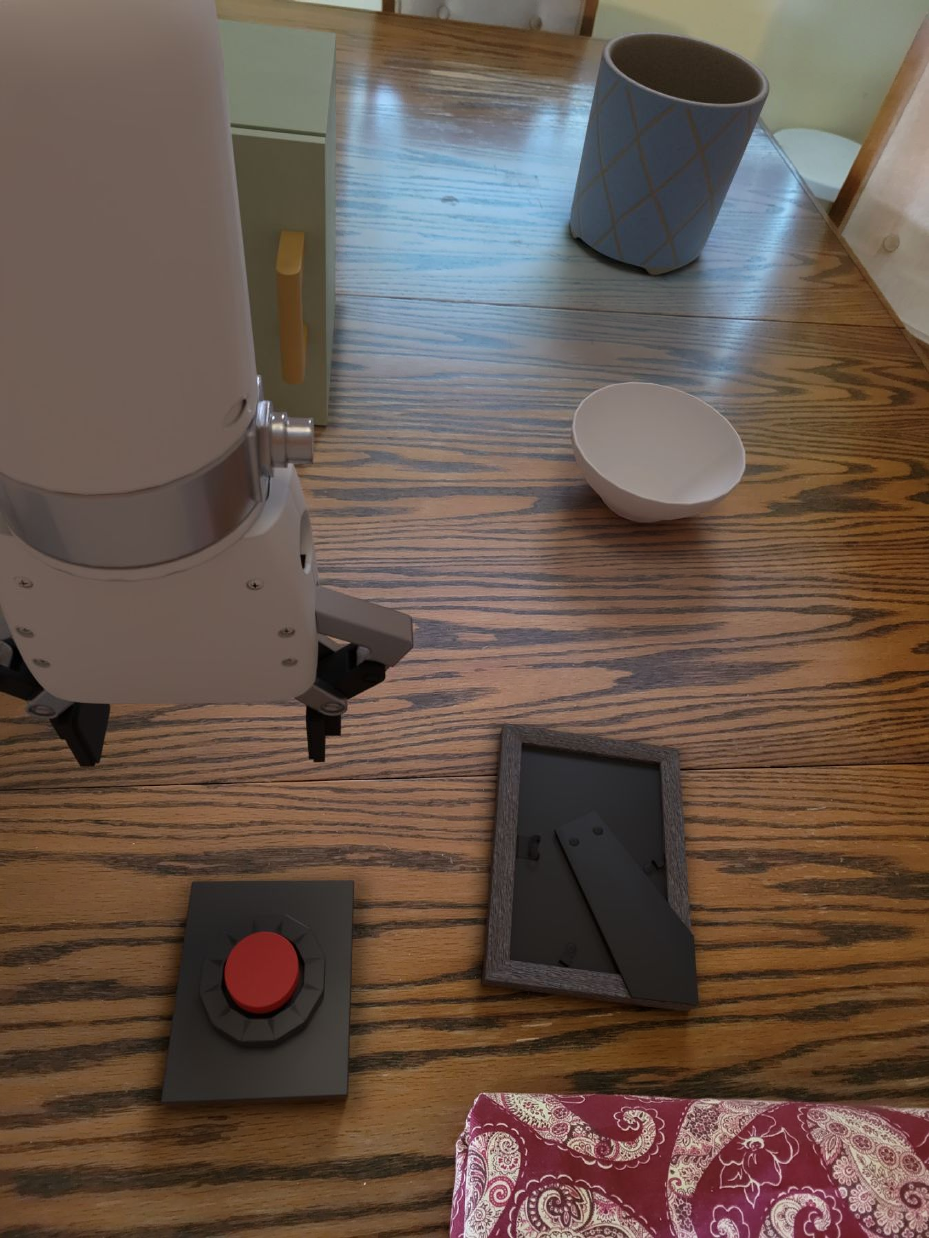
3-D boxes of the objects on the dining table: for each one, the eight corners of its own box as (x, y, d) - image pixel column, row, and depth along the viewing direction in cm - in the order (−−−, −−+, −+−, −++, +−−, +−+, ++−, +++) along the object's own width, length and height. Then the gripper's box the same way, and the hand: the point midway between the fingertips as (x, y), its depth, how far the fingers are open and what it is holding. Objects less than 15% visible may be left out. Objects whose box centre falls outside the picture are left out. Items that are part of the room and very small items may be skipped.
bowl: (743, 551, 78) (774, 498, 72) (581, 564, 74) (601, 510, 69) (684, 434, 87) (708, 379, 81) (537, 440, 83) (552, 383, 77)
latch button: (296, 1012, 47) (295, 1006, 45) (223, 1015, 46) (220, 1008, 45) (301, 939, 49) (300, 930, 48) (231, 940, 49) (228, 931, 47)
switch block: (347, 1100, 48) (348, 1091, 45) (166, 1107, 46) (154, 1098, 43) (353, 890, 55) (354, 869, 52) (196, 892, 53) (187, 870, 50)
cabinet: (327, 418, 81) (325, 133, 60) (63, 401, 78) (-37, 93, 57) (335, 309, 92) (336, 33, 70) (103, 289, 88) (30, -5, 67)
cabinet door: (324, 469, 77) (320, 185, 56) (44, 453, 74) (-70, 146, 53) (327, 419, 81) (325, 137, 60) (62, 401, 78) (-37, 97, 57)
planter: (728, 239, 112) (794, 74, 96) (667, 298, 101) (730, 124, 85) (605, 184, 116) (649, 18, 100) (536, 235, 106) (572, 59, 90)
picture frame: (687, 1011, 53) (671, 757, 64) (698, 1004, 51) (680, 745, 62) (481, 984, 52) (500, 732, 63) (486, 977, 51) (504, 720, 61)
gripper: (425, 377, 27) (399, 664, 41) (-155, 352, 25) (24, 665, 38) (439, 553, 23) (405, 808, 36) (-265, 542, 20) (-18, 819, 34)
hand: (209, 735), depth 37 cm, fingers open, 9 cm apart
